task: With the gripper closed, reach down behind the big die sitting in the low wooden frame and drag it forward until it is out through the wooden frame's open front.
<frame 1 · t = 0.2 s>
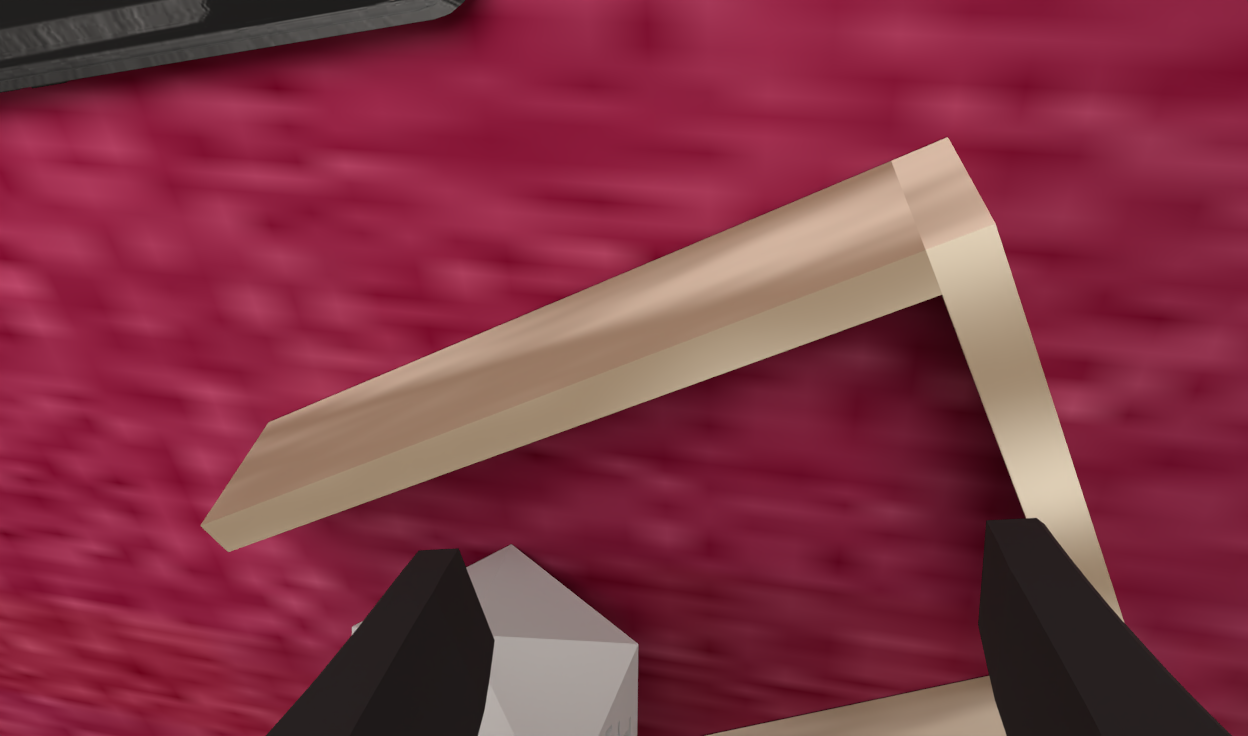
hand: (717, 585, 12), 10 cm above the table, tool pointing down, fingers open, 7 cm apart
wooden frame: (718, 551, 26), on the table
die: (521, 602, 29), on the table
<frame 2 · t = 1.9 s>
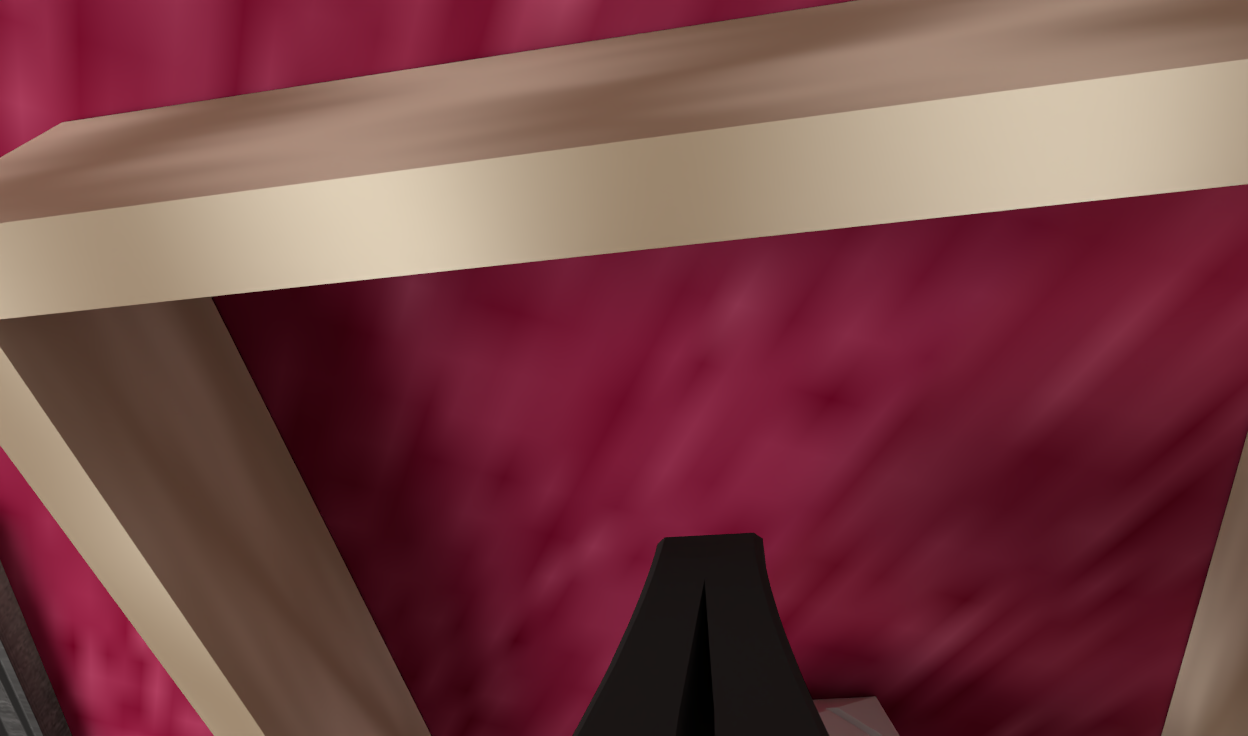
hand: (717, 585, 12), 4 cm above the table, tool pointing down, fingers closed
wooden frame: (742, 531, 17), on the table
die: (770, 731, 21), on the table
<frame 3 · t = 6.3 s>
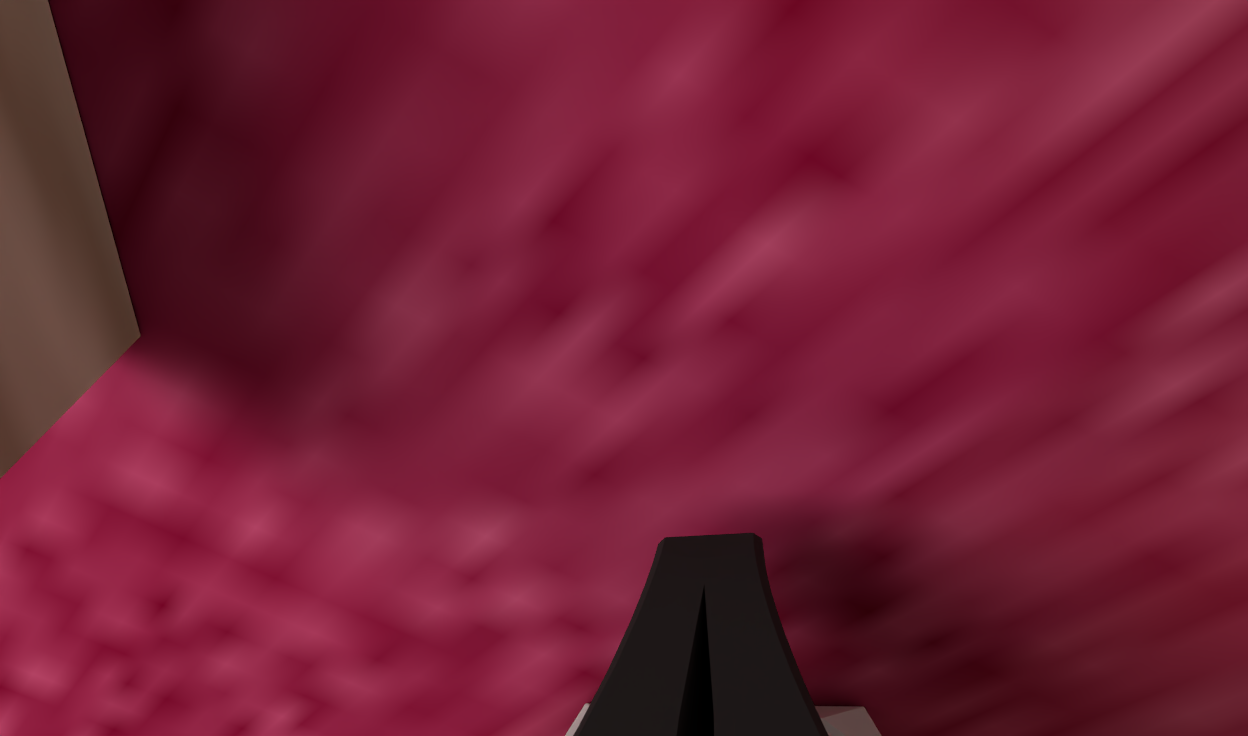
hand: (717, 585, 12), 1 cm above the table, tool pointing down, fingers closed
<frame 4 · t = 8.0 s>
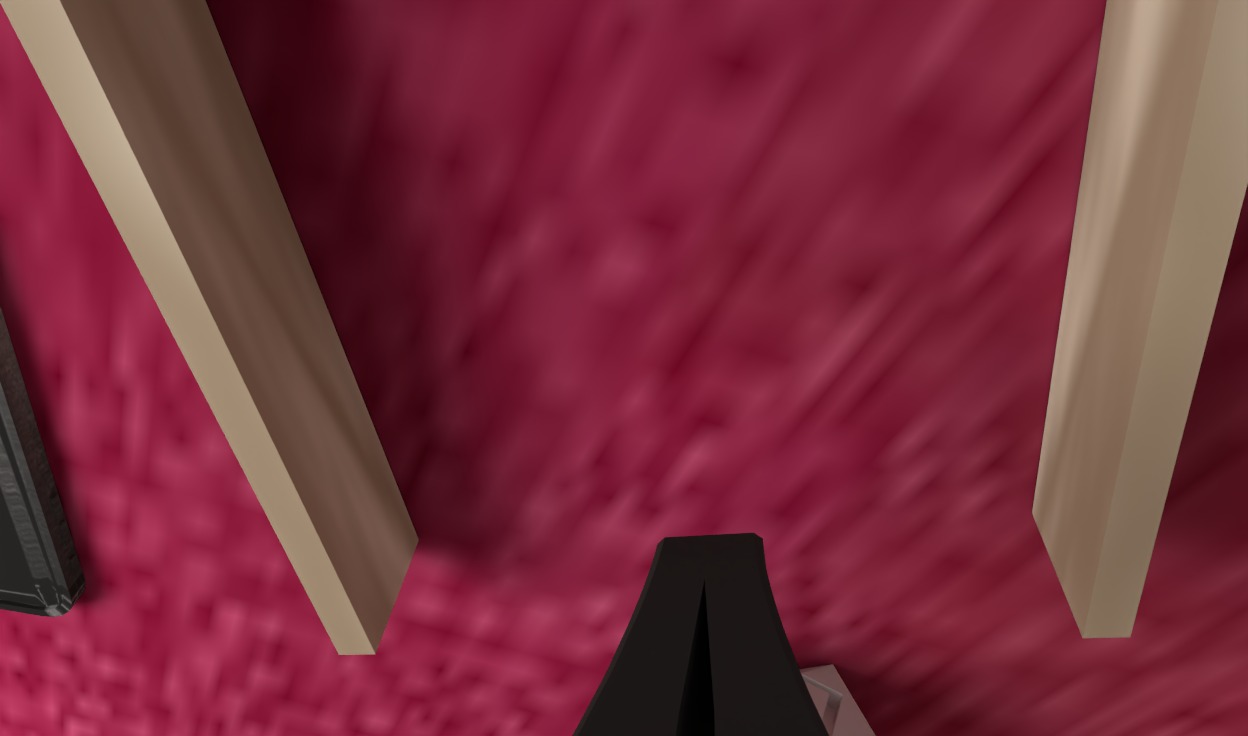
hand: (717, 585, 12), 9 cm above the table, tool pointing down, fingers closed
wooden frame: (666, 215, 19), on the table
die: (766, 697, 29), on the table
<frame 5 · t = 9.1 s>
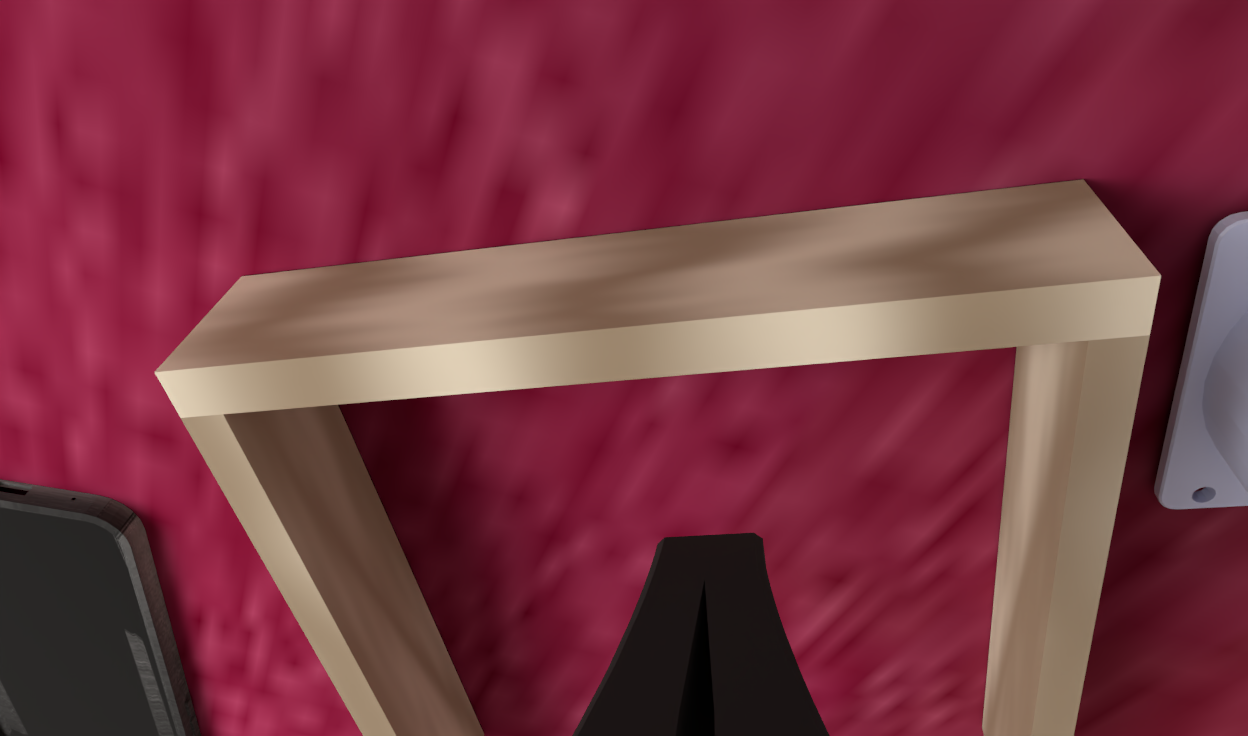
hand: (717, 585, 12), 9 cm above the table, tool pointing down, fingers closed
wooden frame: (683, 534, 25), on the table
phone: (80, 625, 31), on the table
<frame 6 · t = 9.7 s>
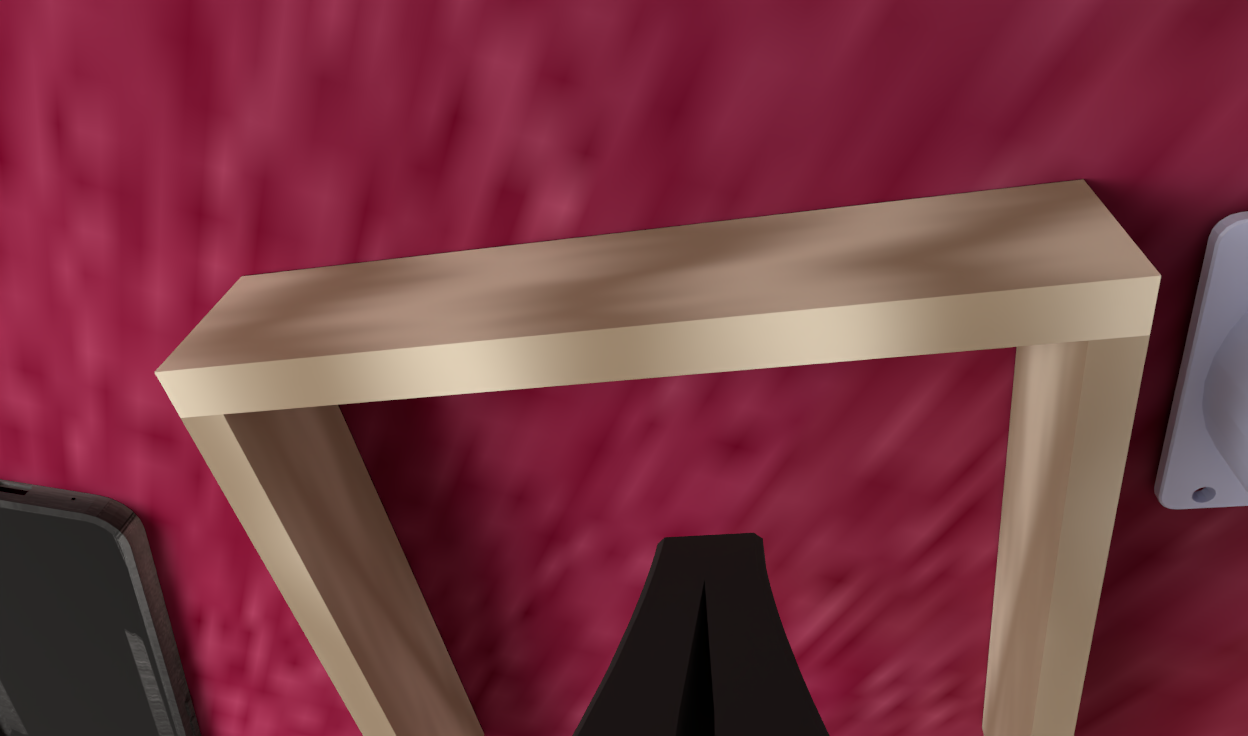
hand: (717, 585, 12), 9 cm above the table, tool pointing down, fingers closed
wooden frame: (683, 534, 25), on the table
phone: (80, 625, 31), on the table
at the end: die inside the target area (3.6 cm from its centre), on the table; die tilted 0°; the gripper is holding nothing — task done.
